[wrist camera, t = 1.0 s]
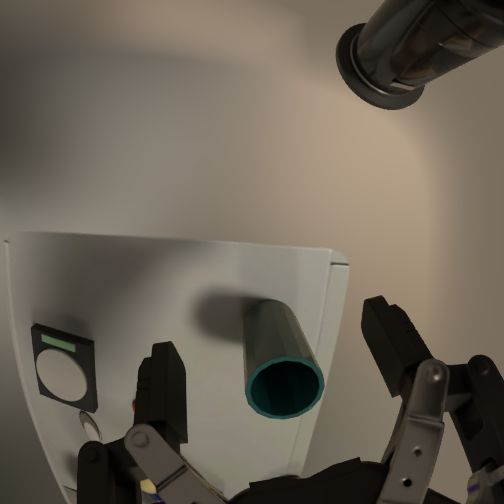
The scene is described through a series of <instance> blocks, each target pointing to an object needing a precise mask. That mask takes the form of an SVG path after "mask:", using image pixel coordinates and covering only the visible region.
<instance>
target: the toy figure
mask: <svg viewBox="0 0 504 504" xmlns="http://www.w3.org/2000/svg"><path fill="white" fill-rule="evenodd" d="M140 484H141V489H142V490H143V491H145V492H147V493H149V495H150V496H151V497H152V498H153V499H155V500H157V501H158V502H162V499H161V498H160V496H159V495H158V494H157V492H156V487H155V486H154V484H153V483H152V482H151V481H150V479H146V480H143V481H140Z"/></svg>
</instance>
